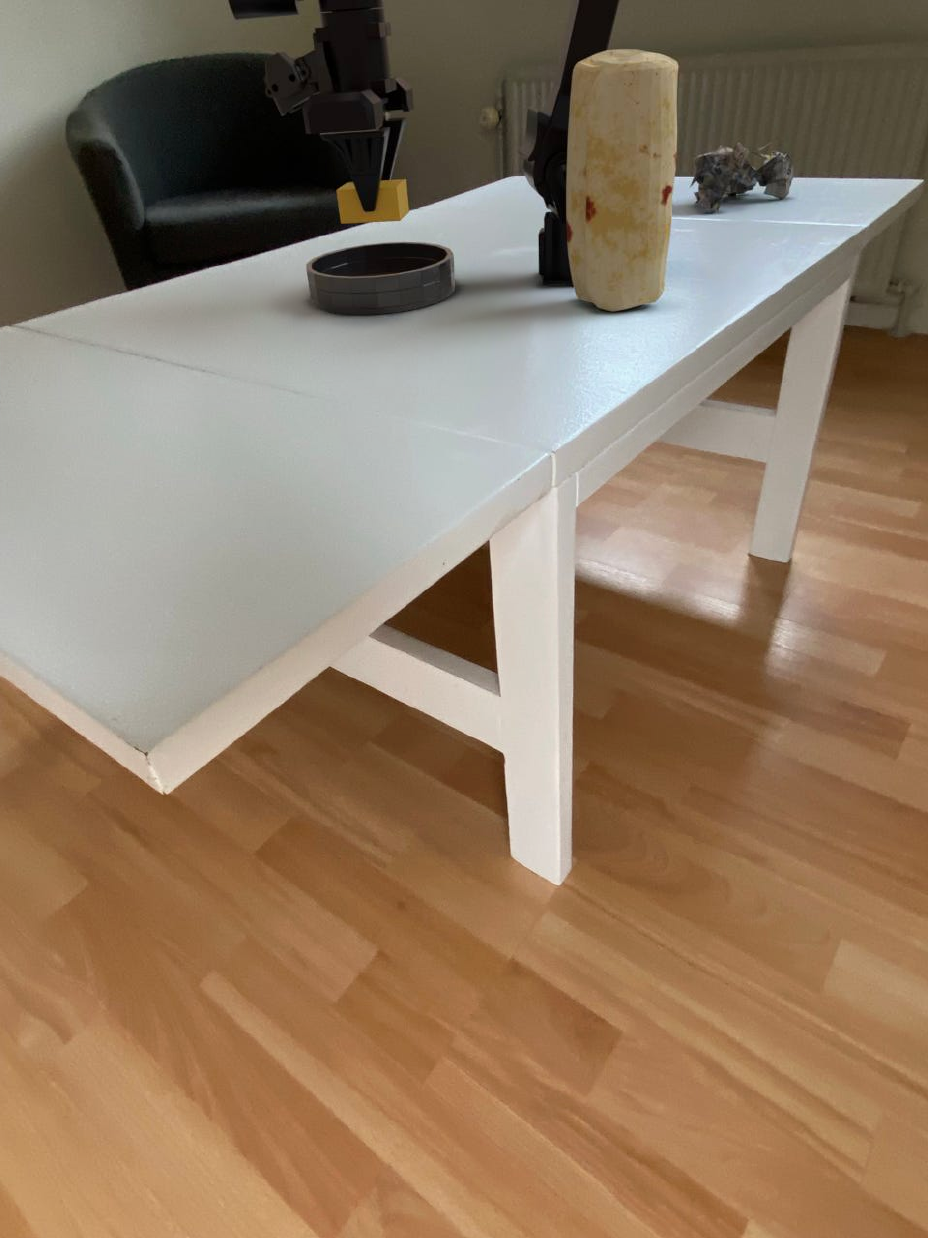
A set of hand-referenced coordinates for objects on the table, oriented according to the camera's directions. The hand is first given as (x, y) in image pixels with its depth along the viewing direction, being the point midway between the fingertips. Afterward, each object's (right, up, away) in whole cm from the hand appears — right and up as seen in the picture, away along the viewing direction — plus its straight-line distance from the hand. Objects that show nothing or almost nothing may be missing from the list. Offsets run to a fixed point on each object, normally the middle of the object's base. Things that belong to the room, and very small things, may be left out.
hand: (375, 206), depth 81 cm
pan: (0, -6, +6) cm, 9 cm away
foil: (+47, +17, +32) cm, 59 cm away
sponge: (0, -1, +1) cm, 1 cm away
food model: (+23, -11, -3) cm, 26 cm away
